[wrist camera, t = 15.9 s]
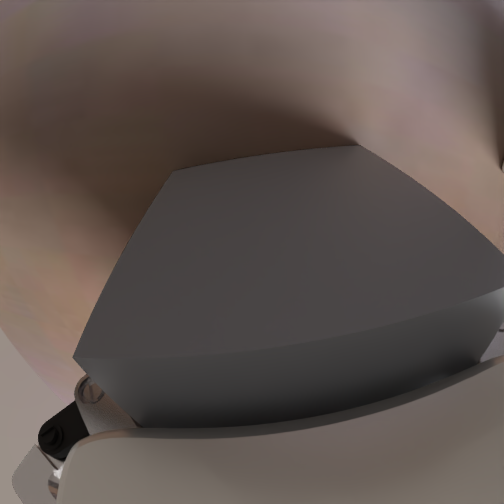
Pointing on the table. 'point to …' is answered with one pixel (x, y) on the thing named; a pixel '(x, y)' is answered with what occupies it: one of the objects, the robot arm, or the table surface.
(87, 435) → the robot arm
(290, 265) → the gray cube
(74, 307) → the table surface
